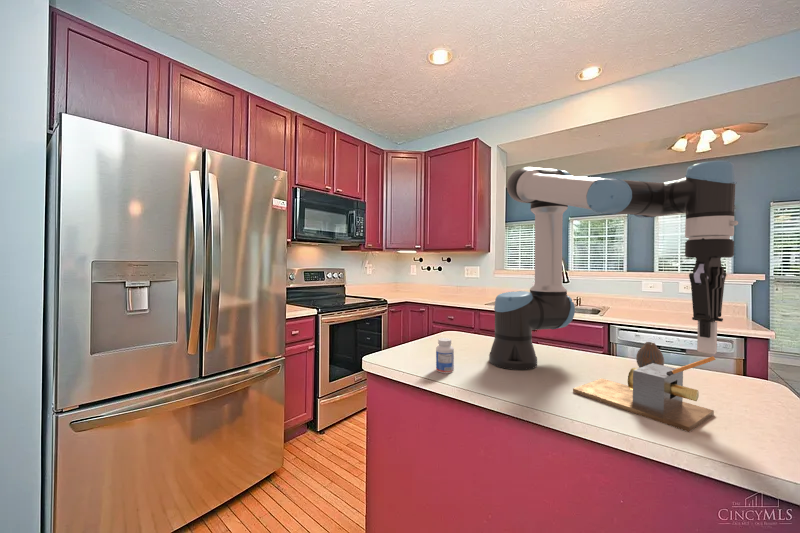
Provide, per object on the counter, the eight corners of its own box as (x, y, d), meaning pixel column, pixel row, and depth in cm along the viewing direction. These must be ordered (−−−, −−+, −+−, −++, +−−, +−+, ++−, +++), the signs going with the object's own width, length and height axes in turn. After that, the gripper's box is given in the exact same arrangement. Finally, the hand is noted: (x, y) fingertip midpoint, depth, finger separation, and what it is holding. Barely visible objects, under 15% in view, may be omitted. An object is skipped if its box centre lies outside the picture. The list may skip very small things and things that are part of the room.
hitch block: (573, 392, 88) (573, 354, 88) (601, 381, 96) (602, 346, 96) (688, 432, 68) (689, 382, 68) (713, 414, 76) (714, 370, 75)
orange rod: (673, 374, 74) (671, 370, 75) (681, 370, 77) (679, 367, 77) (711, 361, 69) (709, 358, 69) (719, 357, 71) (716, 354, 72)
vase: (639, 373, 103) (640, 344, 103) (633, 366, 110) (634, 339, 109) (667, 376, 101) (667, 346, 100) (659, 369, 107) (660, 341, 107)
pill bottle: (439, 367, 109) (440, 336, 109) (456, 369, 107) (456, 338, 107) (433, 372, 104) (433, 340, 104) (450, 374, 102) (450, 342, 102)
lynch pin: (627, 391, 82) (627, 369, 82) (637, 387, 84) (638, 366, 84) (691, 410, 71) (692, 385, 71) (700, 404, 74) (701, 381, 74)
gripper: (722, 236, 64) (719, 362, 64) (743, 238, 71) (741, 351, 71) (673, 238, 70) (671, 352, 71) (697, 240, 77) (695, 344, 78)
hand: (706, 352), depth 71 cm, fingers closed
